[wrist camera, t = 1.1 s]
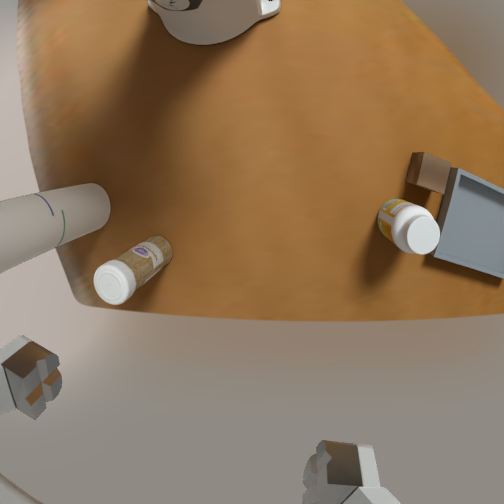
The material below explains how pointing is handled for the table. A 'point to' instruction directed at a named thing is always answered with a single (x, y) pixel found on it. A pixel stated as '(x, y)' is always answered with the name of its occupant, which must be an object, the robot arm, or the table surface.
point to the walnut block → (428, 172)
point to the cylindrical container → (49, 221)
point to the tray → (472, 223)
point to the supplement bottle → (408, 226)
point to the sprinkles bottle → (131, 270)
